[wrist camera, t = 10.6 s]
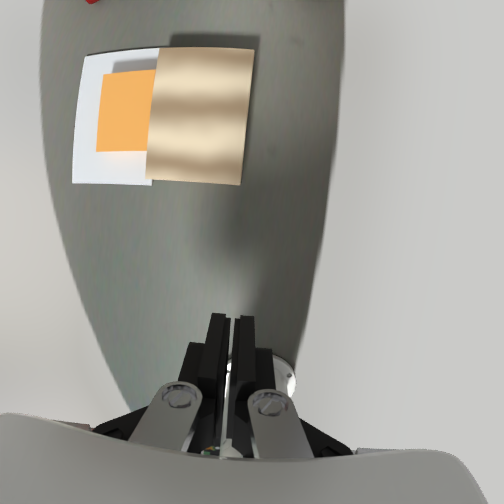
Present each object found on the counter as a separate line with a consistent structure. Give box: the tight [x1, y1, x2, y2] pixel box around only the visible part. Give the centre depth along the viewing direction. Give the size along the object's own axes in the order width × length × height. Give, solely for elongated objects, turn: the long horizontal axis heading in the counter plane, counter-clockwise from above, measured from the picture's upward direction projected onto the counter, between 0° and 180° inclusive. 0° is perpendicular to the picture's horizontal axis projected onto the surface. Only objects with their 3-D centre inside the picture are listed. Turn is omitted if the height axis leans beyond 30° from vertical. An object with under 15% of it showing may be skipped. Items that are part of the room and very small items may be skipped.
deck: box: [145, 47, 254, 185], centre depth 32 cm, size 16×11×3 cm
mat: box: [72, 48, 159, 185], centre depth 33 cm, size 18×12×1 cm, turn 174°
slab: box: [96, 69, 156, 152], centre depth 32 cm, size 10×7×2 cm
